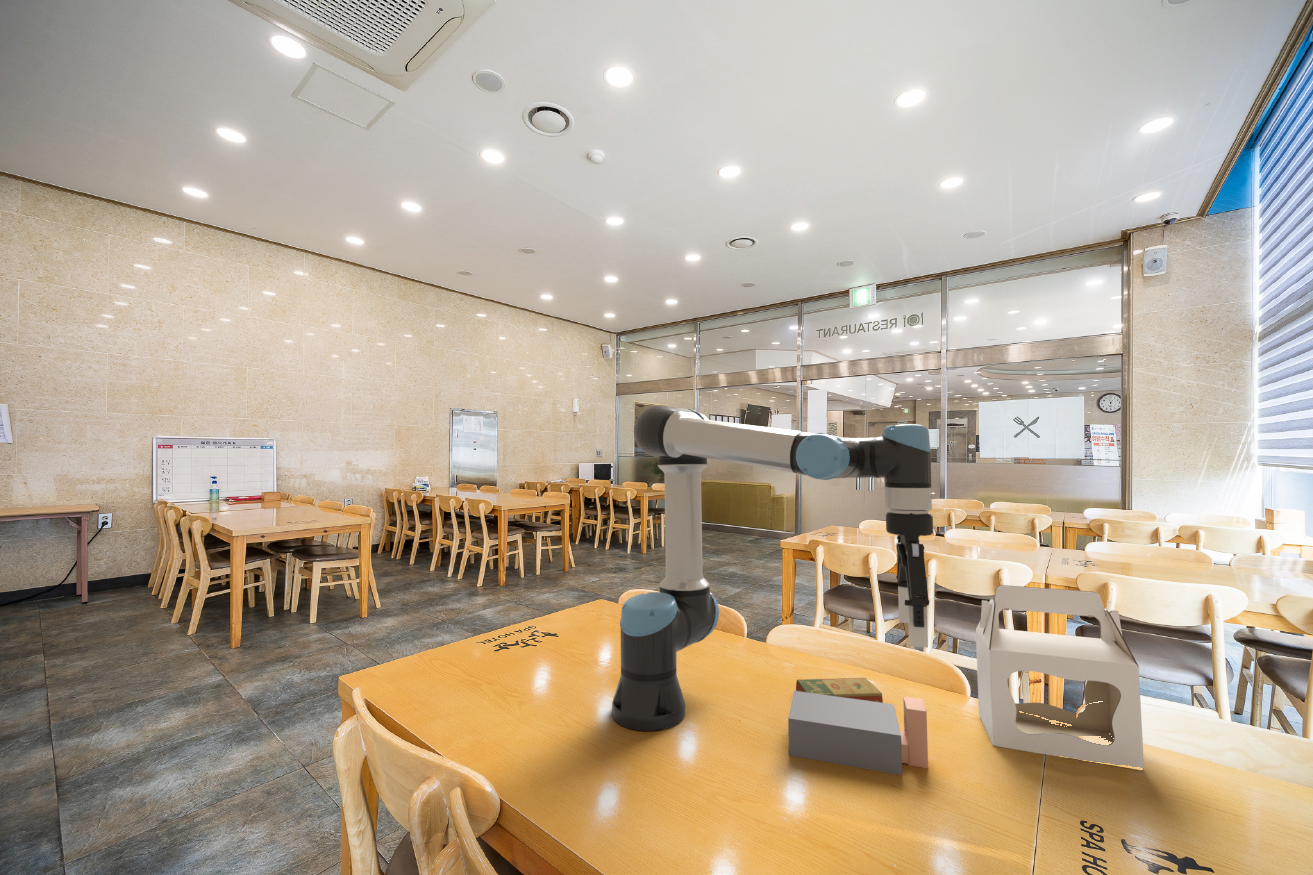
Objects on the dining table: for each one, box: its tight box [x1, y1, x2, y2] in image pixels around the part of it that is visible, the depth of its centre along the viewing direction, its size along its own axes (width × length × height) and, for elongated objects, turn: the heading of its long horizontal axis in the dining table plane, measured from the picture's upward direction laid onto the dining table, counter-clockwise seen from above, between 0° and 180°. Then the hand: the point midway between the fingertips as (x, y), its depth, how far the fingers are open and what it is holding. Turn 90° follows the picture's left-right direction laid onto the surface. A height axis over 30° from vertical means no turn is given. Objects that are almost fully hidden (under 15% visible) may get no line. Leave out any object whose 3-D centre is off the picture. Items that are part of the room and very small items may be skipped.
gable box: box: [975, 584, 1145, 769], centre depth 98 cm, size 22×13×28 cm, turn 68°
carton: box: [795, 677, 884, 703], centre depth 113 cm, size 8×16×4 cm, turn 92°
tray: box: [900, 696, 929, 769], centre depth 93 cm, size 21×10×10 cm, turn 71°
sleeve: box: [787, 690, 903, 776], centre depth 94 cm, size 18×12×7 cm, turn 71°
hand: (912, 633), depth 91 cm, fingers open, 13 cm apart
